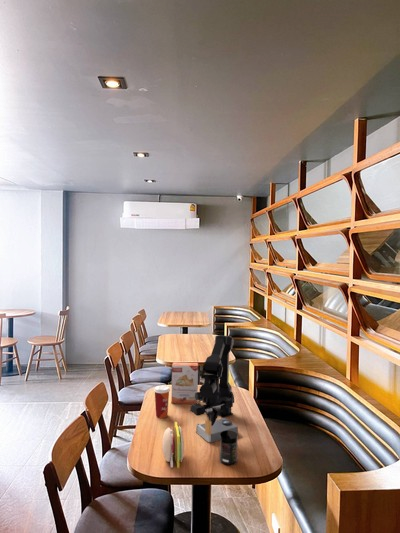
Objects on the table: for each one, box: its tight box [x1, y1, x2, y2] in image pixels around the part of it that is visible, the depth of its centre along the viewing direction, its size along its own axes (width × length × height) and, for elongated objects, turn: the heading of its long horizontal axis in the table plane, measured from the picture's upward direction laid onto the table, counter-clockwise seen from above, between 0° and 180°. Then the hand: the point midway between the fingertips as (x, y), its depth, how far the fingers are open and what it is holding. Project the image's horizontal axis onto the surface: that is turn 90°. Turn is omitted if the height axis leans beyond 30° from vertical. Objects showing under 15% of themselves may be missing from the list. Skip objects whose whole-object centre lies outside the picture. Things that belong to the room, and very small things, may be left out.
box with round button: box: [199, 417, 239, 443], centre depth 164 cm, size 14×10×4 cm
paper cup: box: [153, 384, 171, 419], centre depth 181 cm, size 8×8×14 cm
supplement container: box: [219, 430, 239, 466], centre depth 142 cm, size 7×7×10 cm
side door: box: [195, 418, 212, 443], centre depth 160 cm, size 1×11×9 cm, turn 32°
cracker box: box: [171, 361, 199, 405], centre depth 198 cm, size 14×6×21 cm, turn 89°
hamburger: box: [161, 421, 185, 469], centre depth 143 cm, size 12×8×12 cm
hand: (211, 425), depth 159 cm, fingers closed
